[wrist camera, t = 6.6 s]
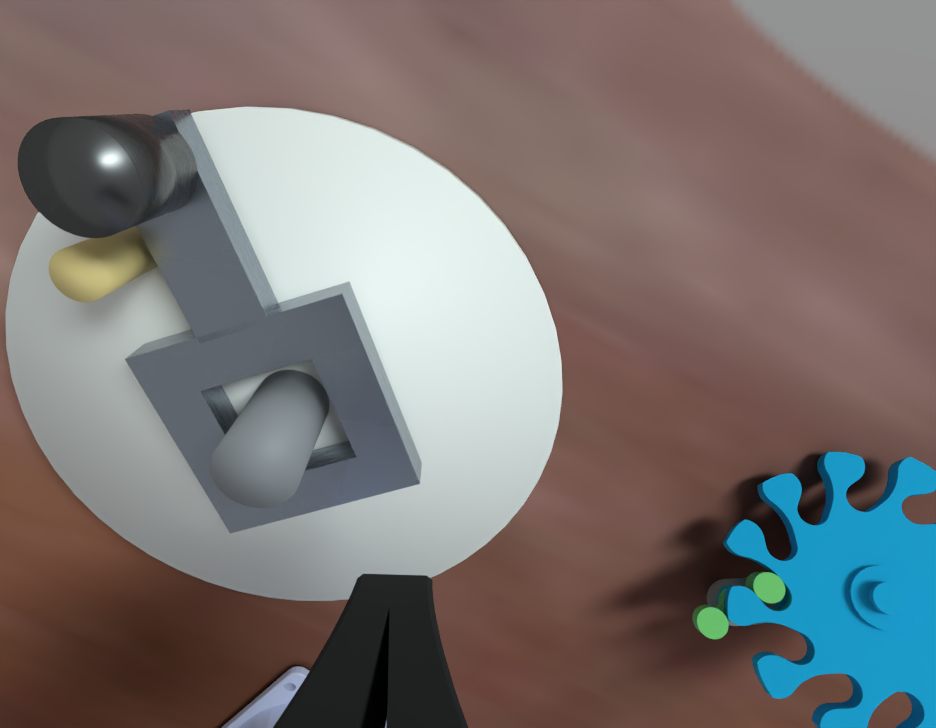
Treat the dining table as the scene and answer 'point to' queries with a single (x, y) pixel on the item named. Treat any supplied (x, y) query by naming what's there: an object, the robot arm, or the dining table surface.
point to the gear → (841, 593)
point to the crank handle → (219, 305)
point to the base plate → (301, 363)
